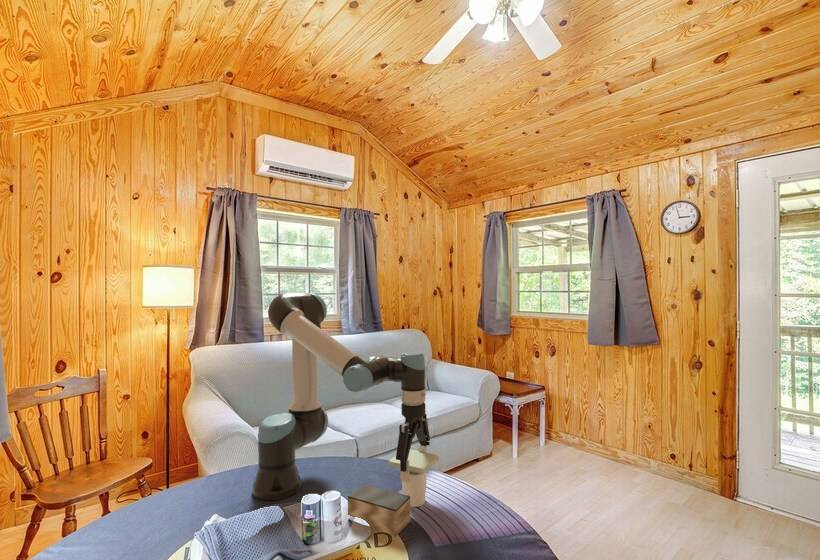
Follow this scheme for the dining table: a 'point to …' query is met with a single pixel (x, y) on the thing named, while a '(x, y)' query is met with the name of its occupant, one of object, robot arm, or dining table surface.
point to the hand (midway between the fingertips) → (414, 473)
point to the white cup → (415, 488)
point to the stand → (380, 508)
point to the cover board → (417, 461)
